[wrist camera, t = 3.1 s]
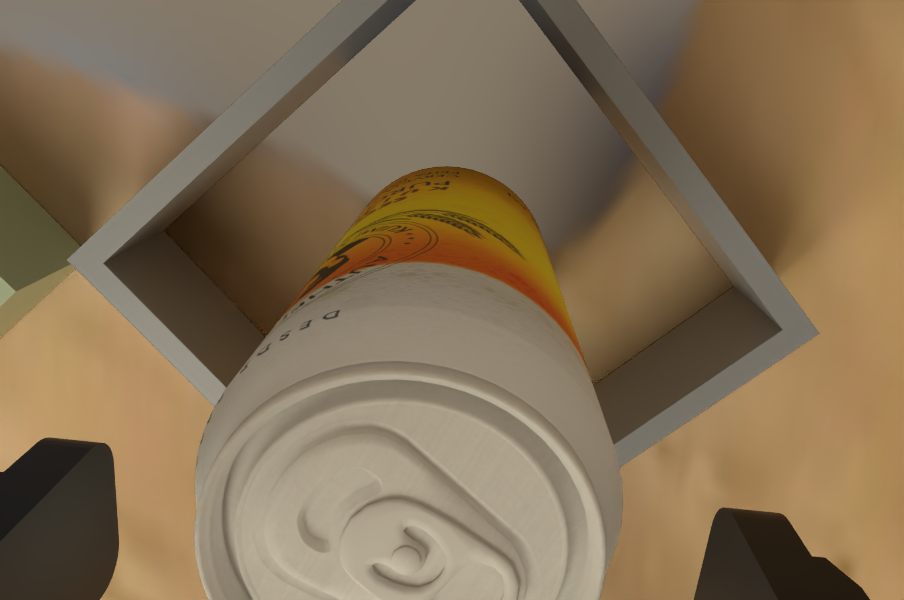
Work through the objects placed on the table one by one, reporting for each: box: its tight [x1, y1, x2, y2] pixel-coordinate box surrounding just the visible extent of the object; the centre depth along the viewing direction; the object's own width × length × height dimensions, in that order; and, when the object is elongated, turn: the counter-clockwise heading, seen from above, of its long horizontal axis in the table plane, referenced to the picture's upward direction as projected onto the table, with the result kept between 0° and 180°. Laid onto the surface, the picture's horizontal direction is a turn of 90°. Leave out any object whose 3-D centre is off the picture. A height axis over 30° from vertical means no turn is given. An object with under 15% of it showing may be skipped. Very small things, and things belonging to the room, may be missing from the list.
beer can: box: [194, 167, 623, 600], centre depth 17 cm, size 6×6×15 cm
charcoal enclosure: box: [67, 0, 820, 467], centre depth 22 cm, size 14×14×4 cm
